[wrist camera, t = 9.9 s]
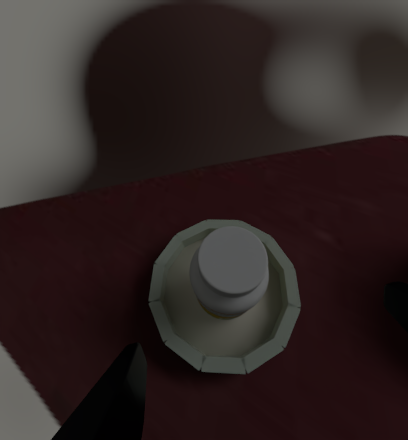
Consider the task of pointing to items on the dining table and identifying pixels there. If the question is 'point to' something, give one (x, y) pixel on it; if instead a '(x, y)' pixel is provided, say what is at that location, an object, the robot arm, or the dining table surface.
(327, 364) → the dining table surface
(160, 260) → the bowl
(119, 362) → the robot arm
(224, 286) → the supplement bottle
